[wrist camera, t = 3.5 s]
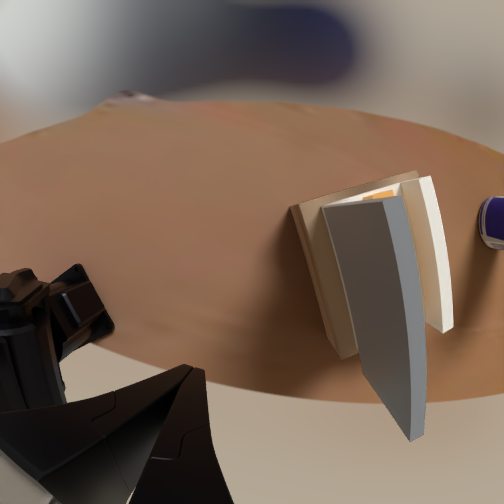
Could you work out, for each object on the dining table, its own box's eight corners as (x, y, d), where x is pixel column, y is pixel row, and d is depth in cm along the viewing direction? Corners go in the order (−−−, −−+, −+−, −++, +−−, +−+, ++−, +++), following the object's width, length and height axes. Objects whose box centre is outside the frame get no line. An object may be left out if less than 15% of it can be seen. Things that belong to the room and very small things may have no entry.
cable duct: (356, 348, 18) (372, 368, 15) (320, 206, 16) (335, 203, 13) (430, 313, 17) (453, 326, 14) (405, 180, 16) (430, 175, 13)
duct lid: (373, 369, 15) (362, 373, 15) (335, 204, 13) (323, 207, 13) (423, 434, 8) (409, 442, 8) (401, 195, 7) (382, 201, 7)
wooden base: (327, 337, 22) (341, 360, 18) (289, 206, 20) (298, 204, 16) (417, 299, 21) (442, 313, 17) (391, 176, 20) (416, 170, 16)
